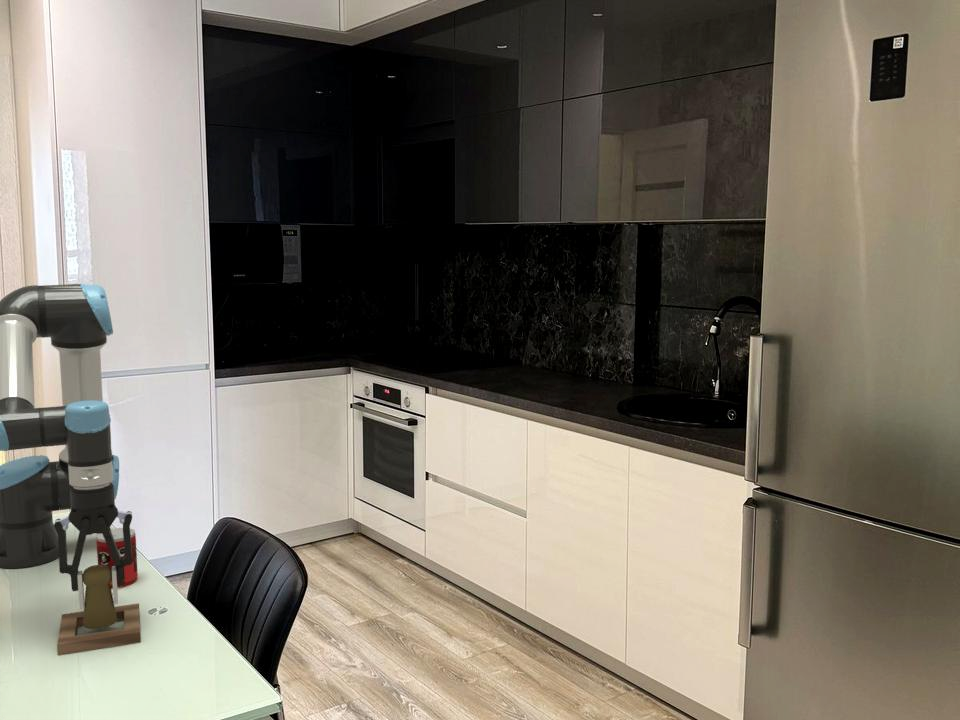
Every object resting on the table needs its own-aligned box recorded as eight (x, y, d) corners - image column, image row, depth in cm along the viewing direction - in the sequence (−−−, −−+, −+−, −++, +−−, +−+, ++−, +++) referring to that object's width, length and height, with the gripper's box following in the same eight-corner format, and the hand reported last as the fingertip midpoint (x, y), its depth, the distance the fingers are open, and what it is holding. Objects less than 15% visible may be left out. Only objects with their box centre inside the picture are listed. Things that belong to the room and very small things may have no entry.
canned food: (91, 586, 190) (88, 537, 189) (117, 573, 198) (115, 525, 196) (119, 590, 188) (116, 541, 186) (145, 577, 195) (142, 529, 194)
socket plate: (62, 623, 172) (62, 614, 171) (139, 612, 177) (139, 603, 177) (57, 655, 159) (56, 644, 159) (140, 642, 164) (140, 632, 164)
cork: (104, 630, 164) (101, 574, 162) (75, 627, 165) (72, 571, 164) (123, 617, 170) (120, 562, 168) (95, 614, 171) (92, 560, 170)
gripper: (35, 495, 157) (44, 619, 160) (144, 484, 164) (150, 603, 167) (39, 484, 164) (47, 603, 167) (143, 474, 171) (149, 589, 174)
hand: (99, 603), depth 167 cm, fingers closed on cork, 5 cm apart
